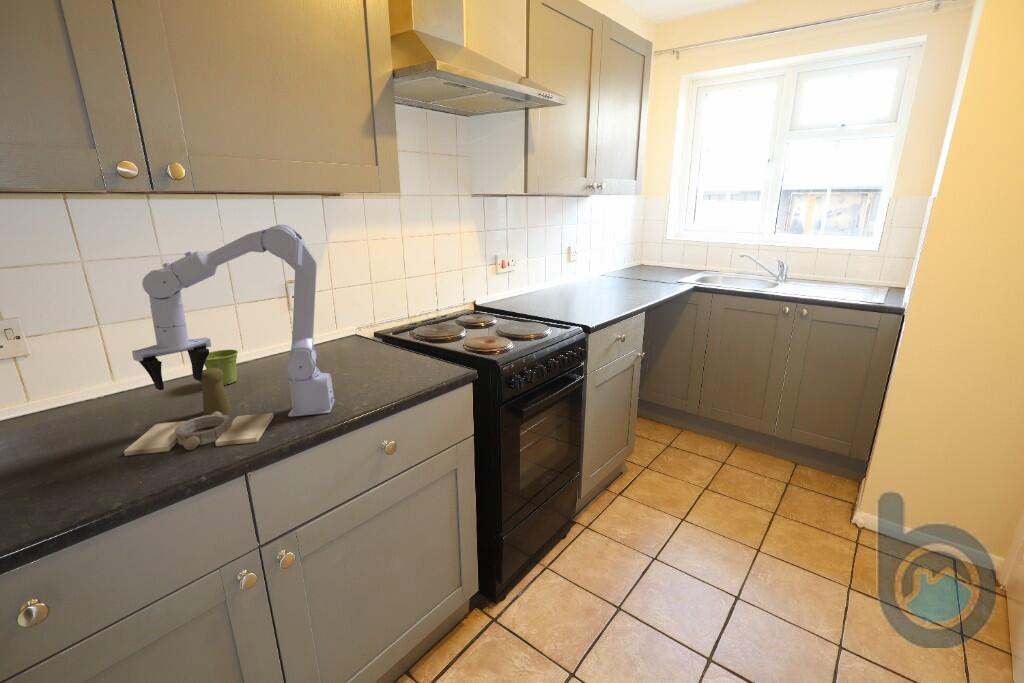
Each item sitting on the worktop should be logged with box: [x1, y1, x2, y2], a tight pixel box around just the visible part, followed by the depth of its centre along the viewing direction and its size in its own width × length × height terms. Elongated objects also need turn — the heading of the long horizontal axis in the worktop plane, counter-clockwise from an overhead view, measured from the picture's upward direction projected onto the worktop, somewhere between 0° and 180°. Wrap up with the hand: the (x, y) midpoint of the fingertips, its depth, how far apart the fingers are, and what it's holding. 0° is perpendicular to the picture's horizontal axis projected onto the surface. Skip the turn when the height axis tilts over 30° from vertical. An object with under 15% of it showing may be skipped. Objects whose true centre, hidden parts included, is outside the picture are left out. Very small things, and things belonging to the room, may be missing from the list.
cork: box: [198, 368, 233, 416], centre depth 116 cm, size 6×6×11 cm
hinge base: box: [123, 411, 275, 457], centre depth 105 cm, size 25×14×2 cm, turn 101°
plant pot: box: [204, 349, 239, 386], centre depth 136 cm, size 9×9×9 cm
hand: (179, 384), depth 107 cm, fingers open, 7 cm apart
